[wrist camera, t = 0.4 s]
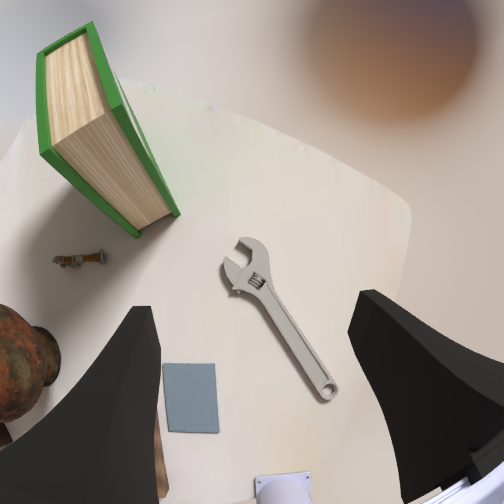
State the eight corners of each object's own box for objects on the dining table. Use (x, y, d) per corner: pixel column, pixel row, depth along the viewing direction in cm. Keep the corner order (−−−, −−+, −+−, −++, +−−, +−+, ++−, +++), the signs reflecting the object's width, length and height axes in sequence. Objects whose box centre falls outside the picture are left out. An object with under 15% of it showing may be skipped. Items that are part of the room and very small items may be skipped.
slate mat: (219, 431, 34) (219, 432, 34) (169, 429, 34) (169, 430, 34) (214, 363, 37) (214, 364, 36) (163, 363, 36) (162, 363, 36)
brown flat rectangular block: (169, 488, 32) (164, 498, 29) (121, 481, 31) (114, 489, 28) (155, 397, 35) (149, 402, 32) (105, 392, 35) (95, 396, 32)
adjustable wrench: (339, 390, 37) (343, 392, 35) (299, 413, 36) (301, 417, 34) (256, 234, 41) (256, 231, 39) (214, 255, 40) (213, 252, 39)
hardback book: (180, 214, 41) (121, 103, 18) (136, 238, 40) (39, 154, 17) (141, 130, 44) (92, 21, 21) (104, 151, 43) (36, 53, 20)
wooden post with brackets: (56, 261, 38) (51, 252, 34) (103, 257, 42) (102, 248, 38) (57, 272, 38) (51, 265, 34) (104, 268, 41) (103, 260, 38)
